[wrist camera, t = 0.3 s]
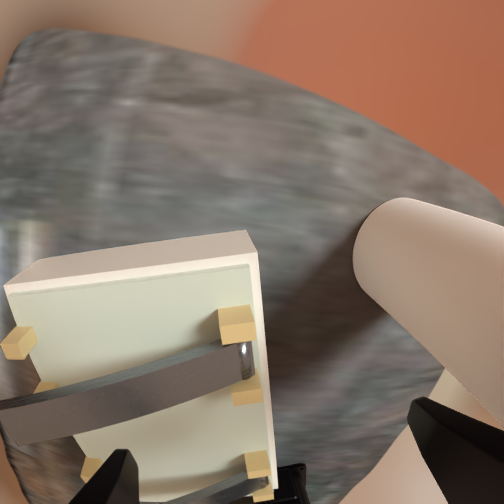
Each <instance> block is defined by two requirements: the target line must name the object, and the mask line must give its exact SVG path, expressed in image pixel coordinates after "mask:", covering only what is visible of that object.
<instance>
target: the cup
mask: <svg viewBox="0 0 504 504" xmlns="http://www.w3.org/2000/svg"><path fill="white" fill-rule="evenodd" d="M353 269H354V273H355V277H356V279H357V281H358V283H359V285H360V286H361V288H362V289H363V290H364V291H365V292H366V293H367V294H368V295H369V296H370V297H371V298H372V299H373V300H374V301H376V302H377V303H378V304H379V305H380V306H381V307H382V308H383V309H384V310H385V311H386V312H387V313H389V314H390V315H391V316H392V317H393V318H394V319H395V320H396V321H397V322H398V323H399V324H400V325H401V326H402V327H404V328H405V329H406V330H407V331H408V332H409V333H410V334H411V335H412V336H413V337H414V338H415V339H416V340H417V341H418V342H419V343H420V344H421V345H422V346H423V347H424V348H426V349H427V350H428V351H429V352H430V353H431V354H432V355H433V356H434V357H435V358H436V359H437V360H438V361H439V362H440V363H441V364H442V365H443V366H444V367H445V368H446V369H447V370H448V371H449V372H450V373H451V374H452V375H453V376H454V377H455V378H456V379H457V380H458V381H459V382H460V383H461V384H462V385H463V386H464V387H465V388H466V389H467V390H468V391H469V392H470V393H471V394H472V395H473V396H474V397H475V398H476V399H477V400H478V401H479V402H480V403H481V404H482V405H483V406H484V408H485V409H486V410H487V411H488V412H489V413H490V414H491V415H492V416H493V417H494V418H495V419H496V420H497V421H498V422H499V423H500V424H501V425H502V426H503V427H504V227H502V226H500V225H497V224H494V223H491V222H488V221H485V220H482V219H479V218H475V217H472V216H469V215H466V214H463V213H460V212H456V211H453V210H450V209H446V208H443V207H439V206H436V205H432V204H429V203H425V202H422V201H418V200H414V199H411V198H396V199H392V200H389V201H387V202H385V203H383V204H381V205H380V206H379V207H377V208H376V209H375V210H374V211H373V212H372V213H371V214H370V215H369V216H368V217H367V219H366V220H365V221H364V223H363V224H362V226H361V228H360V230H359V232H358V234H357V237H356V240H355V244H354V249H353Z"/></svg>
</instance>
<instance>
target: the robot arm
mask: <svg viewBox="0 0 504 504" xmlns="http://www.w3.org/2000/svg"><path fill="white" fill-rule="evenodd" d="M407 421H408V424H409V426H410V429H411V431H412V433H413V436H414V438H415V440H416V443H417V445H418V447H419V450H420V452H421V455H422V457H423V458H424V460H425V462H426V464H427V466H428V468H429V469H430V471H431V473H432V475H433V476H434V478H435V480H436V482H437V484H438V485H439V487H440V489H441V491H442V493H443V494H444V496H445V498H446V500H447V502H448V504H504V431H503V430H500V429H498V428H495V427H493V426H490V425H488V424H486V423H483V422H481V421H478V420H476V419H474V418H471V417H469V416H467V415H464V414H462V413H460V412H457V411H455V410H453V409H451V408H448V407H446V406H444V405H441V404H439V403H437V402H435V401H433V400H430V399H428V398H426V397H420V398H417V399H414V400H413V401H412V403H411V406H410V409H409V413H408V416H407ZM277 478H278V489H273V490H274V492H273V494H274V499H272V500H266V501H260V502H255V504H310V501H309V498H308V495H307V492H306V489H305V484H306V465H305V464H298V465H293V466H288V467H283V468H278V469H277ZM251 499H252V500H253V495H252V496H251ZM253 501H254V500H253ZM69 504H139V469H138V465H137V463H136V461H135V459H134V457H133V455H132V454H131V452H130V450H128V449H115V450H114V451H113V452H112V454H111V455H110V456H109V457H108V458H107V459H106V461H105V462H104V463H103V464H102V465H101V467H100V468H99V469H98V470H97V471H96V472H95V474H94V475H93V476H92V477H91V478H90V479H89V480H88V482H87V483H86V484H85V485H84V486H83V487H82V489H81V490H80V491H79V492H78V493H77V494H76V495H75V497H74V498H73V499H72V500H71V501H70V502H69Z"/></svg>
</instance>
